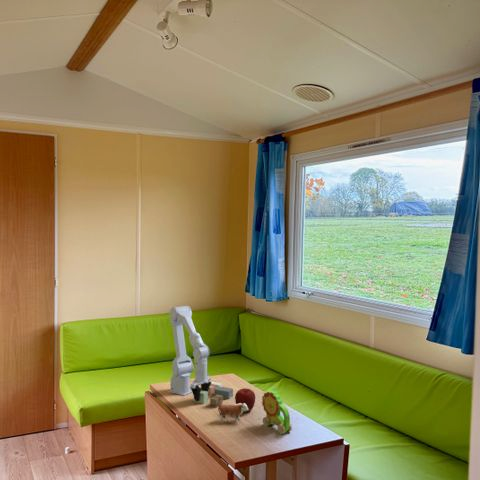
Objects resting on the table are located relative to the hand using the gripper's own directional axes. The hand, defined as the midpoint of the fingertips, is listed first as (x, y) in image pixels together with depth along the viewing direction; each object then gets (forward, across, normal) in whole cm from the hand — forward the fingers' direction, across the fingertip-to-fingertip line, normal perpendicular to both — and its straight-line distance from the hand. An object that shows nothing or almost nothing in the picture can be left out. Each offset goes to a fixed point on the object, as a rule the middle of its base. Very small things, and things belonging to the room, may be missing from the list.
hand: (200, 398), depth 241 cm
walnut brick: (+2, 0, -9) cm, 9 cm away
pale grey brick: (+2, +17, +2) cm, 17 cm away
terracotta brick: (+2, +11, +3) cm, 12 cm away
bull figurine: (+2, -12, -25) cm, 28 cm away
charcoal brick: (+2, +12, -6) cm, 14 cm away
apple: (+2, +1, -24) cm, 24 cm away
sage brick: (+2, 0, 0) cm, 2 cm away
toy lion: (+2, -9, -44) cm, 45 cm away
